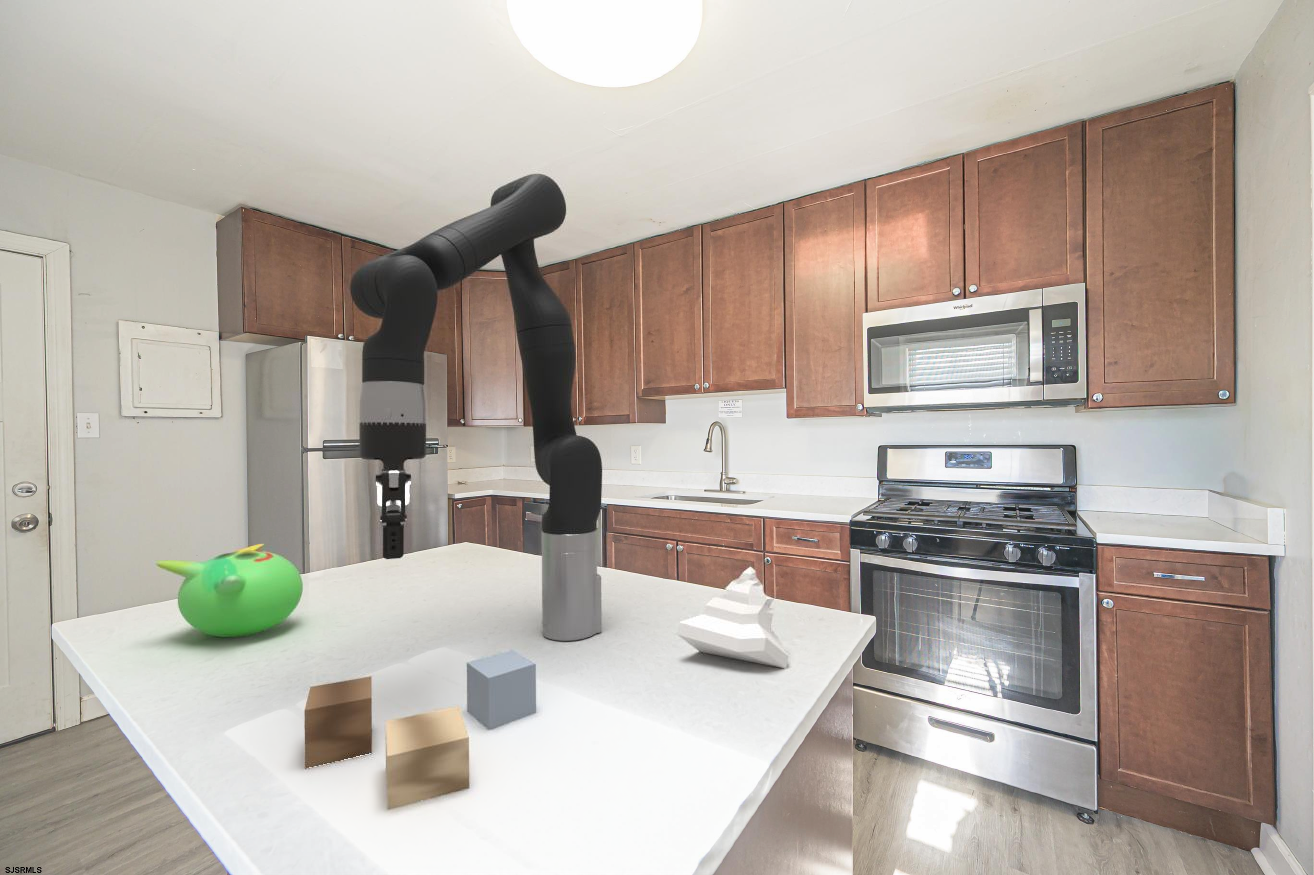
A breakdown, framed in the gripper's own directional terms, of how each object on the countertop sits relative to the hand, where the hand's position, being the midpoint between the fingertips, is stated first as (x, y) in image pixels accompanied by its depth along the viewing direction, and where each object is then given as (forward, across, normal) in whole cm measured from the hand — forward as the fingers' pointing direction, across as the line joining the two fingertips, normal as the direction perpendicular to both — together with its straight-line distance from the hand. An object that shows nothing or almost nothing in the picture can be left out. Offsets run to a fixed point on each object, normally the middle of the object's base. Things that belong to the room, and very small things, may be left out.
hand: (393, 551), depth 71 cm
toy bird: (+19, +40, +23) cm, 50 cm away
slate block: (+19, -7, -12) cm, 24 cm away
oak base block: (+19, -18, -3) cm, 26 cm away
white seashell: (+19, -6, -47) cm, 51 cm away
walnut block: (+19, -8, +5) cm, 21 cm away
